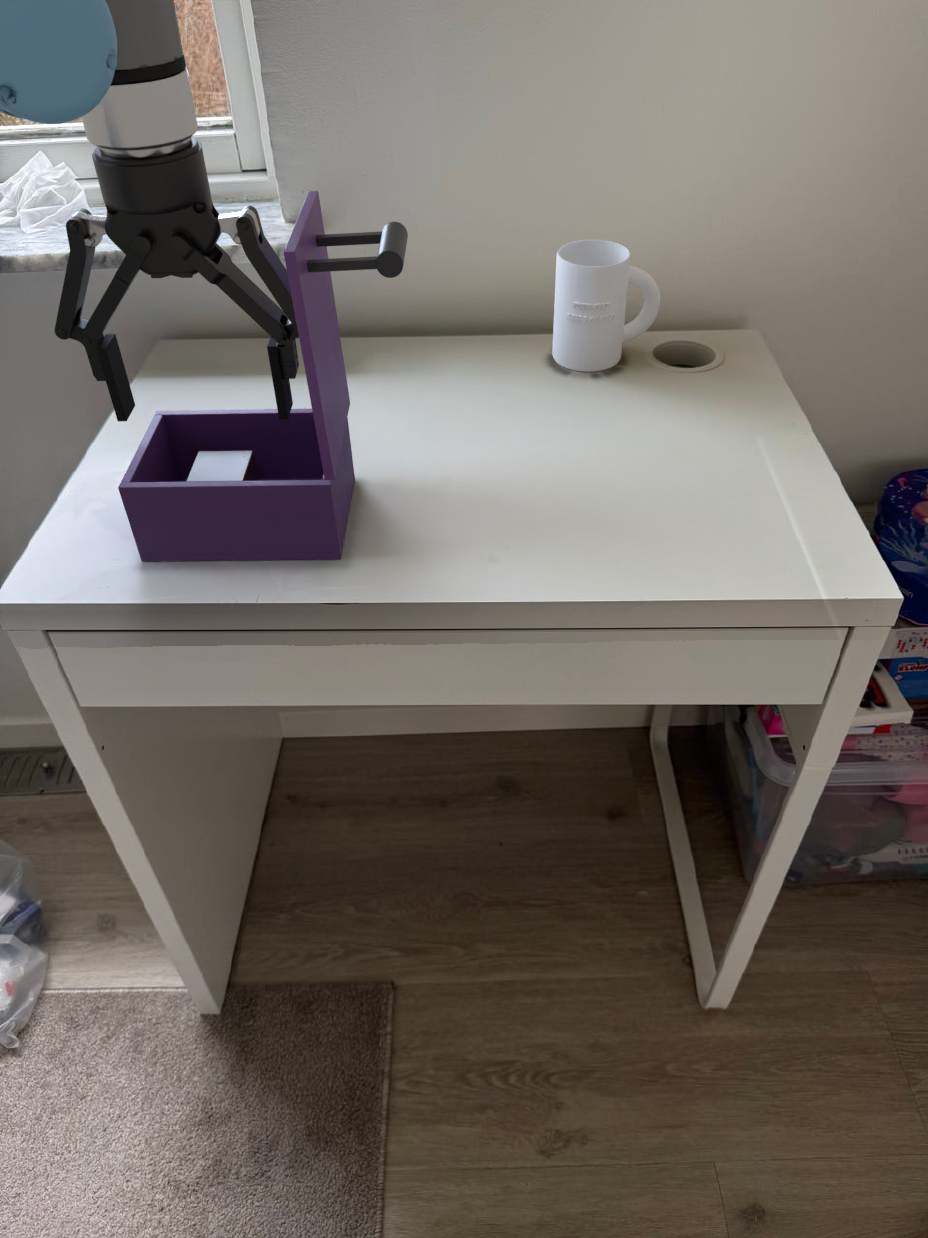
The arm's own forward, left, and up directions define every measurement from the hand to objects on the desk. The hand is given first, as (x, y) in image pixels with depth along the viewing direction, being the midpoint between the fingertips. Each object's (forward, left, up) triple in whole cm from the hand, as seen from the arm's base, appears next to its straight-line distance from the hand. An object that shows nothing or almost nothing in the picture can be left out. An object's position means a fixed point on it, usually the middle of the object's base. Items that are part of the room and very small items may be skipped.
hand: (206, 412), depth 80 cm
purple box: (+2, +1, -11) cm, 11 cm away
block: (0, 0, -10) cm, 10 cm away
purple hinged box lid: (+9, +5, +6) cm, 12 cm away
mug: (+20, +45, -11) cm, 50 cm away
